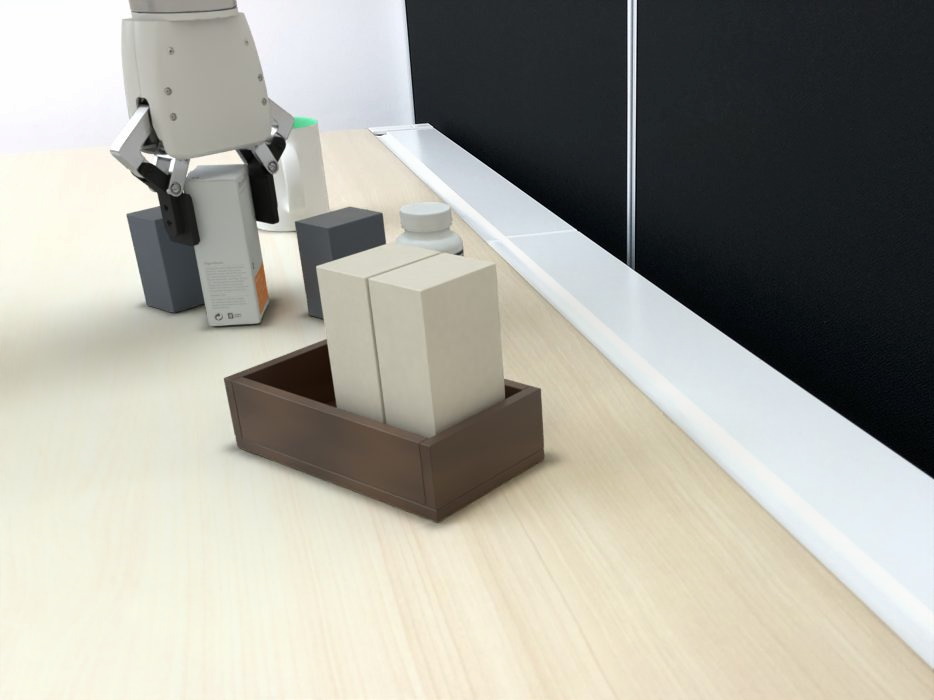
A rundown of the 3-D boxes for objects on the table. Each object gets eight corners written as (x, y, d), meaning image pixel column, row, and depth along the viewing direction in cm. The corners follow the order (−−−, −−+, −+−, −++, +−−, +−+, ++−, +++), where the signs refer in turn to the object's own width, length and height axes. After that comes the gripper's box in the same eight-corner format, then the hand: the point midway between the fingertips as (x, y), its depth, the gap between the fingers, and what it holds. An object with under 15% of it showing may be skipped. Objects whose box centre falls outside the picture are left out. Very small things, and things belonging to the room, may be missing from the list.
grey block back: (146, 305, 96) (125, 213, 92) (205, 287, 100) (187, 199, 96) (174, 313, 94) (154, 220, 90) (233, 294, 98) (216, 205, 94)
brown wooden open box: (236, 447, 71) (222, 377, 68) (350, 397, 78) (340, 332, 75) (437, 523, 62) (429, 446, 59) (545, 459, 69) (541, 388, 66)
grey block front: (308, 315, 93) (294, 221, 89) (361, 296, 97) (349, 206, 94) (341, 324, 91) (327, 228, 87) (393, 304, 95) (383, 212, 92)
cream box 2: (392, 474, 65) (367, 278, 60) (461, 437, 70) (444, 252, 64) (441, 491, 63) (420, 290, 58) (509, 453, 68) (496, 262, 62)
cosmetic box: (262, 324, 91) (236, 178, 86) (208, 328, 90) (179, 180, 85) (271, 301, 96) (248, 162, 91) (221, 304, 96) (194, 164, 90)
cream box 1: (343, 456, 67) (315, 265, 62) (413, 422, 72) (392, 241, 66) (390, 473, 65) (365, 277, 60) (458, 437, 70) (441, 251, 64)
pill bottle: (390, 332, 89) (376, 212, 85) (425, 312, 94) (413, 197, 89) (448, 340, 87) (437, 218, 83) (481, 319, 92) (472, 202, 87)
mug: (346, 234, 116) (333, 132, 111) (268, 244, 113) (250, 139, 108) (322, 209, 125) (309, 114, 120) (249, 217, 122) (232, 120, 117)
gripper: (246, -13, 90) (280, 204, 98) (42, 2, 77) (101, 250, 86) (307, -10, 86) (338, 215, 95) (104, 6, 74) (160, 265, 82)
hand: (225, 230), depth 90 cm, fingers closed on cosmetic box, 7 cm apart
